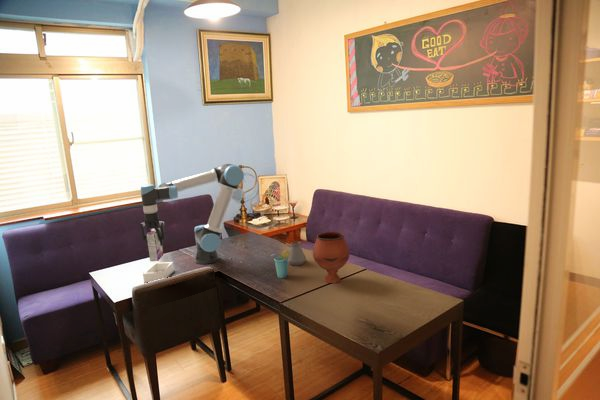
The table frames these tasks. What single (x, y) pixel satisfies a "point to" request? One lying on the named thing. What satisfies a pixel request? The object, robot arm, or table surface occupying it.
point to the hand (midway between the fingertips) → (156, 251)
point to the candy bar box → (154, 245)
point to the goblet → (331, 254)
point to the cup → (281, 264)
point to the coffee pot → (295, 253)
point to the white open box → (158, 271)
